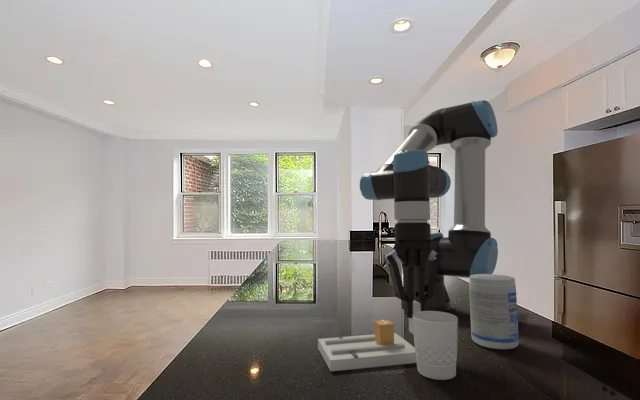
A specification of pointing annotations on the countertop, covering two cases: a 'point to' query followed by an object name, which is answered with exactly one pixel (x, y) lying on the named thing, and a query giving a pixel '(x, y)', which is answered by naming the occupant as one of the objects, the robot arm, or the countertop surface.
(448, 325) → the white cup
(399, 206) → the robot arm
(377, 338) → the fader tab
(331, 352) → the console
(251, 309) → the countertop surface
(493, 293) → the supplement tub
